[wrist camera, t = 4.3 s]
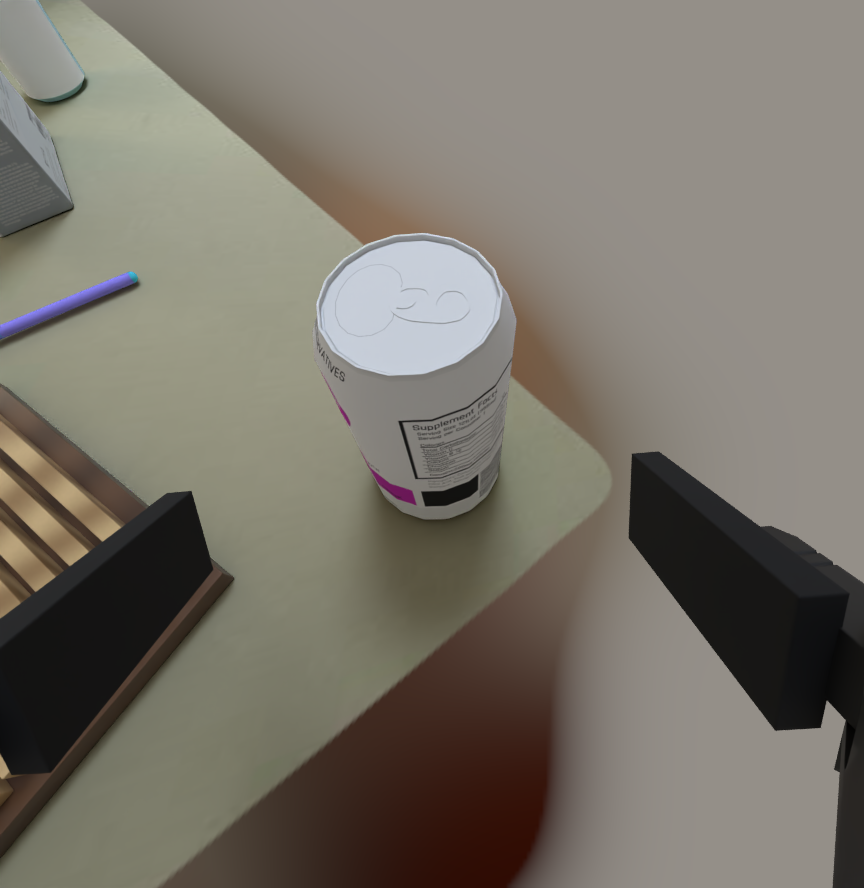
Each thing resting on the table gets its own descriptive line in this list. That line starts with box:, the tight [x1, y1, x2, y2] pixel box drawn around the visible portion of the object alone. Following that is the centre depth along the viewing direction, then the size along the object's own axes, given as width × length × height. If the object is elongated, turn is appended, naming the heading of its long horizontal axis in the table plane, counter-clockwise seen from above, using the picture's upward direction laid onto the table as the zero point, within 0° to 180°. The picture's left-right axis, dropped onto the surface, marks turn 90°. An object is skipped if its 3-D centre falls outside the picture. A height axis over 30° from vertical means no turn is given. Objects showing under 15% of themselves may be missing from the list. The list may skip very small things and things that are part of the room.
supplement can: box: [312, 233, 516, 519], centre depth 24 cm, size 8×8×15 cm
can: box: [0, 0, 85, 102], centre depth 52 cm, size 7×7×12 cm
